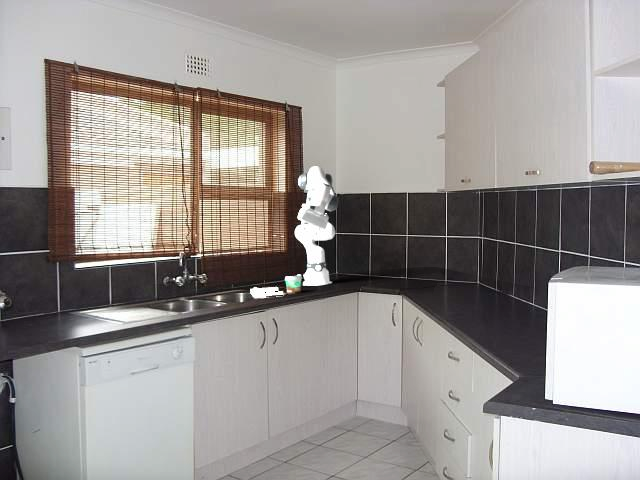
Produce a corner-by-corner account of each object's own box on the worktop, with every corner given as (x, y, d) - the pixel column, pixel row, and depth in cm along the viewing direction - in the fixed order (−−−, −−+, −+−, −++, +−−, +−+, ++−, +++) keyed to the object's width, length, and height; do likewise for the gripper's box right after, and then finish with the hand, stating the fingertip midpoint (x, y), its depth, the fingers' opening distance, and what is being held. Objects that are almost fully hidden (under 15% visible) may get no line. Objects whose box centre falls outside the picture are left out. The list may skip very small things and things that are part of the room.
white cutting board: (250, 293, 384) (250, 287, 384) (277, 291, 388) (277, 285, 387) (254, 298, 362) (254, 292, 362) (283, 296, 365) (282, 290, 365)
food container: (293, 294, 371) (292, 276, 371) (285, 293, 375) (284, 276, 375) (307, 291, 381) (306, 274, 381) (298, 290, 385) (298, 274, 385)
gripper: (325, 214, 377) (318, 237, 376) (300, 203, 364) (292, 226, 362) (332, 216, 372) (325, 238, 371) (307, 204, 359) (299, 227, 358)
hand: (308, 232), depth 366 cm, fingers open, 8 cm apart
